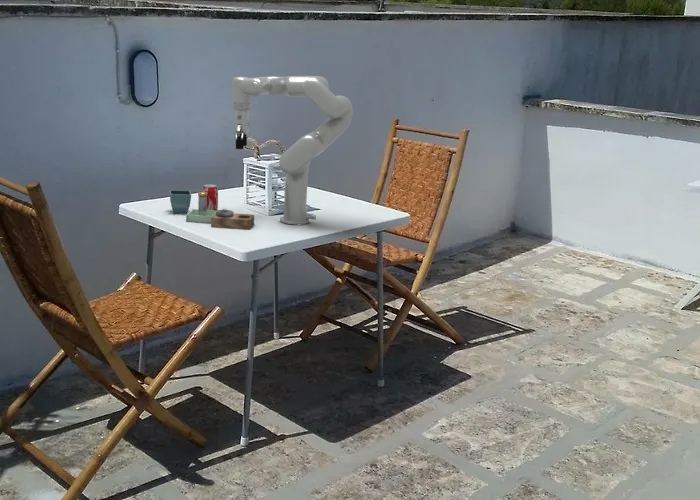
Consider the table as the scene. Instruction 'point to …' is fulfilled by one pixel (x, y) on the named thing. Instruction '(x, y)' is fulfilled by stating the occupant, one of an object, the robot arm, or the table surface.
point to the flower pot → (180, 201)
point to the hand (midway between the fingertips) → (241, 147)
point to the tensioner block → (232, 220)
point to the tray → (199, 216)
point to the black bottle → (202, 203)
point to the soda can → (211, 196)
